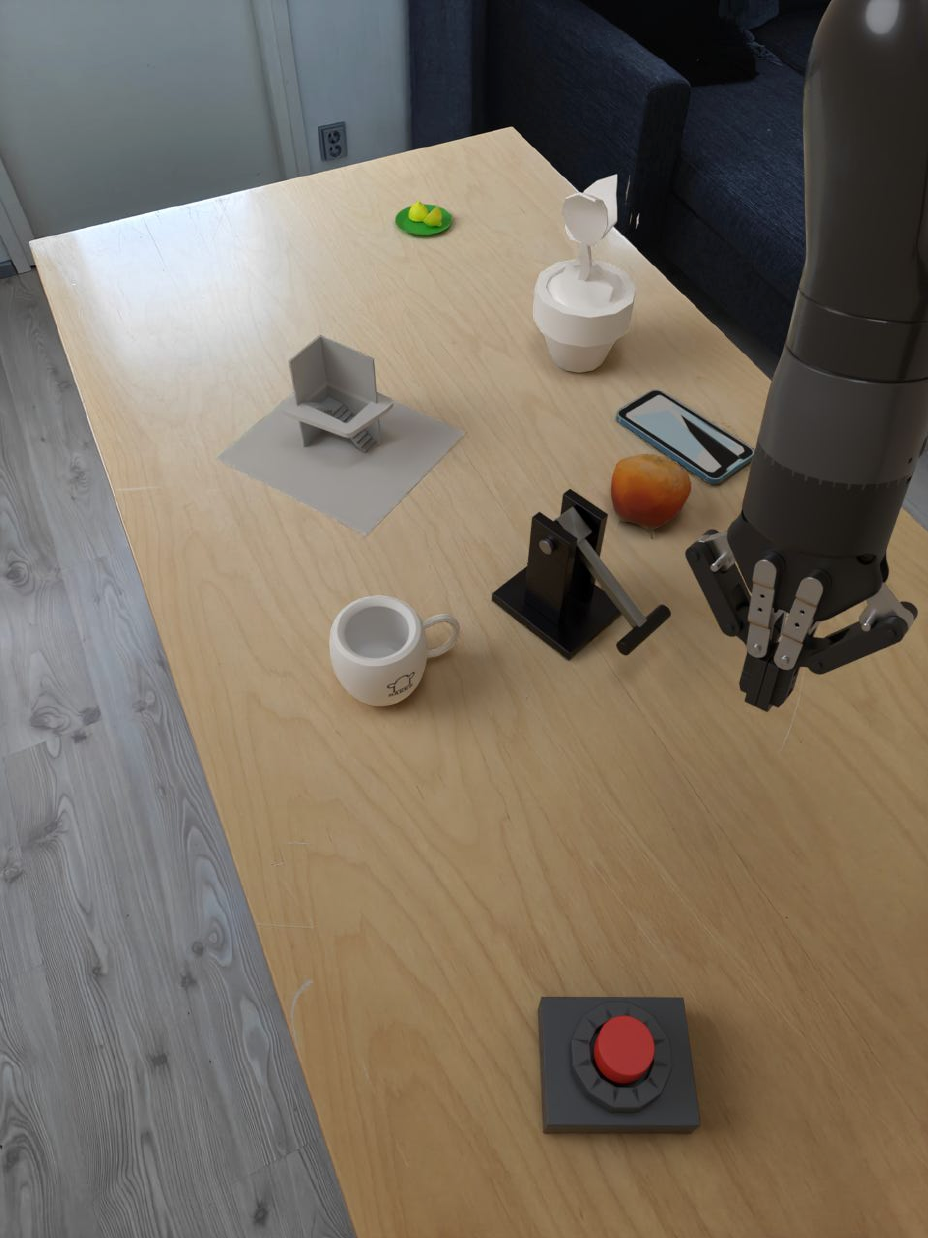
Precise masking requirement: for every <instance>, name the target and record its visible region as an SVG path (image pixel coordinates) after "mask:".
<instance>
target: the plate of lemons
mask: <svg viewBox="0 0 928 1238" xmlns="http://www.w3.org/2000/svg"><path fill="white" fill-rule="evenodd" d="M394 220H395V224H396V226H397V227H398V228H399V229H400V230H402V231H404V232H405V233H409V234H412V235H417V236H428V235H435V234H438V233H441V232H443V231H445V230H447V229H448V228H449V227H450V226H451V224H452V222H453V217H452V215H451V214H450V211H448V210H446V209H445V208H443V207H441V206H438V205H434V204H426V203H425V204H424V203H422V202H421V200H417V201H416V202H415V203H413V204H412V205H410V206H407V207H405V208H403V209H400V211H399V212H398V213H397V214H396V215H395V218H394Z"/></svg>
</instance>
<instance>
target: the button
mask: <svg viewBox="0 0 928 1238" xmlns="http://www.w3.org/2000/svg"><path fill="white" fill-rule="evenodd" d="M654 1054H655V1045H654V1040H653V1037H652V1035H651V1033H650V1031H649V1029H648V1028H647V1027H646V1026H645V1025H644V1024H643V1023H642V1022H641V1021H639V1020H638V1019H636V1018H634V1017H631V1016H617V1017H614V1018H612V1019H610V1020H609V1021H607V1022H606V1023H605V1025H604V1026H603V1027H602V1029H601V1031H600V1033H599V1035H598V1037H597V1039H596V1042H595V1045H594V1057H595V1061H596V1064H597V1066H598V1068H599V1070H600V1071H601V1072H602V1073H603V1075H605V1076H606V1077H607V1078H608V1079H610V1080H612V1081H614V1082H616V1083H621V1084H627V1083H632V1082H634V1081H636V1080H638V1079H639V1078H640V1077H641V1076H642V1075H643V1074H644V1073H645V1071H646V1070H647V1069H648V1067H649V1066H650V1064H651V1063H652V1061H653V1058H654Z"/></svg>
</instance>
